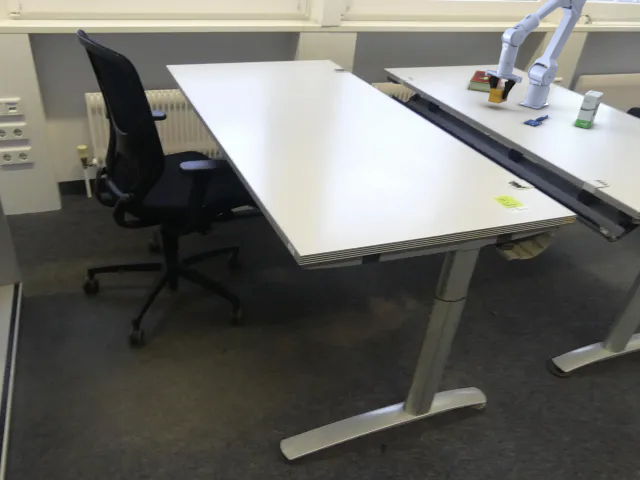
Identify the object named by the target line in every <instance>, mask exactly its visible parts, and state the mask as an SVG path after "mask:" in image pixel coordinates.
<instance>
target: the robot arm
mask: <svg viewBox="0 0 640 480" xmlns="http://www.w3.org/2000/svg"><path fill="white" fill-rule="evenodd" d="M586 2H587V0H547V1H546V2H545V3H544V4H543V5H541V7H539V8H538V9H537V10H536V11H535V12H534V13H532V12H531V13H527V14H526V15H524V17H523V18H522V19H521V20H520V21H519V22H517V23H516V24H514V26H513V27H509V28H507V29H505V31H504V32H503V34H502V35H501V42H502V44H501V47H502V48H501V52H500V56H499V60H498V63H497V69H496V70H492V69H486V70H485V71H486V72H485V75H486V76H491V77H490V78H489V79H488V80H489V83H490V89H491V88H494V87H497V85H498V82H499V80H500V78H501V79H502V80H505V81H504V86H503V87H504V93H503V97H502V99H503V100H504V99H506V98H507V96H508V97H509V93H510V92H511V90H512V89H513V88H514V86H515V85H516V84H521V83H522V81H523V76H519V75H516V74H513V71H514V69H515V63H516V59H517V56H518V52H519V47H520V45H523V43H524V42H525V40H526V38H527V37H528V35H529V34H531V33H532V32H533V31H534V30H536V29H537V28H539V26H540V23H541V21H542V20H543V19H545V18H546V17H547V16H548V15H550V14H551V13H553V12H554V11H555V10H557V9H558V8H561V10H562V14H563V16H562V18H561V20H560V21H559V24H558V26H557V27H556V29H555V30H554V33H553V35H552V37H551V39H550V41H549V43H548V45H547V46H546V48H545V50H544V52H543V54H542V55H541V56H540V57H538V58H536V59H535V61H534V63H532V65H531V66H530V67H529V68H528V70H527V77H528V86H527V90H526V93H525V96H524V100H523V101H522V102H520V103H519V106H520V105H521V106H524V107H528V108H532V109H536V110H539V109H541V108H544V107H547V106H548V105H549V104H548V103H547V100H548V98H549V94H550V91H551V86H550V85H551V84H552V83H553V82H554V81H555V79H556V75H557V72H558V69H559V65H558V63H557V60H558V58H559V57H560V55H561V53H562V51H563V49H564V47H565V46H566V43H567V42H568V40H569V38H570V36H571V34H572V32H573V31H574V28H575V27H576V25H577V23H578V21H579V19H580V17H581V16H582V12H583V8H584V6H585V4H586ZM507 99H508V98H507Z"/></svg>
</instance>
